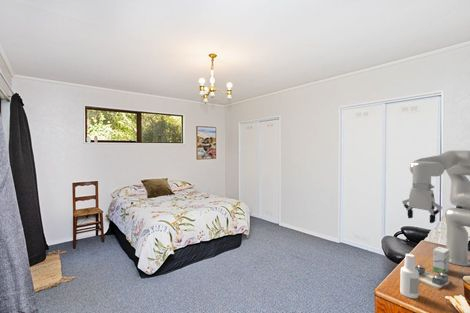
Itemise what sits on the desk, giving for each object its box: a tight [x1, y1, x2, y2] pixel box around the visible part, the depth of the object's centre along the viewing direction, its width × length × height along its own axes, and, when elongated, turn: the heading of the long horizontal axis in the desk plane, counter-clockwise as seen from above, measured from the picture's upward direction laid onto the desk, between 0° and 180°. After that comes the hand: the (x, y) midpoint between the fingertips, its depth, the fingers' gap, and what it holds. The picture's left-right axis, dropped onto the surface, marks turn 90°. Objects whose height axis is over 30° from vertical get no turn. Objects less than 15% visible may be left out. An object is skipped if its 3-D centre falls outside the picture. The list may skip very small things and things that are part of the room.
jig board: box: [419, 270, 452, 290], centre depth 127 cm, size 14×14×1 cm
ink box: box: [432, 246, 450, 274], centre depth 137 cm, size 8×5×12 cm, turn 124°
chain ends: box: [415, 264, 449, 286], centre depth 127 cm, size 9×13×3 cm
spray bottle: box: [399, 253, 420, 299], centre depth 114 cm, size 7×7×18 cm
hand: (420, 220), depth 127 cm, fingers open, 9 cm apart
